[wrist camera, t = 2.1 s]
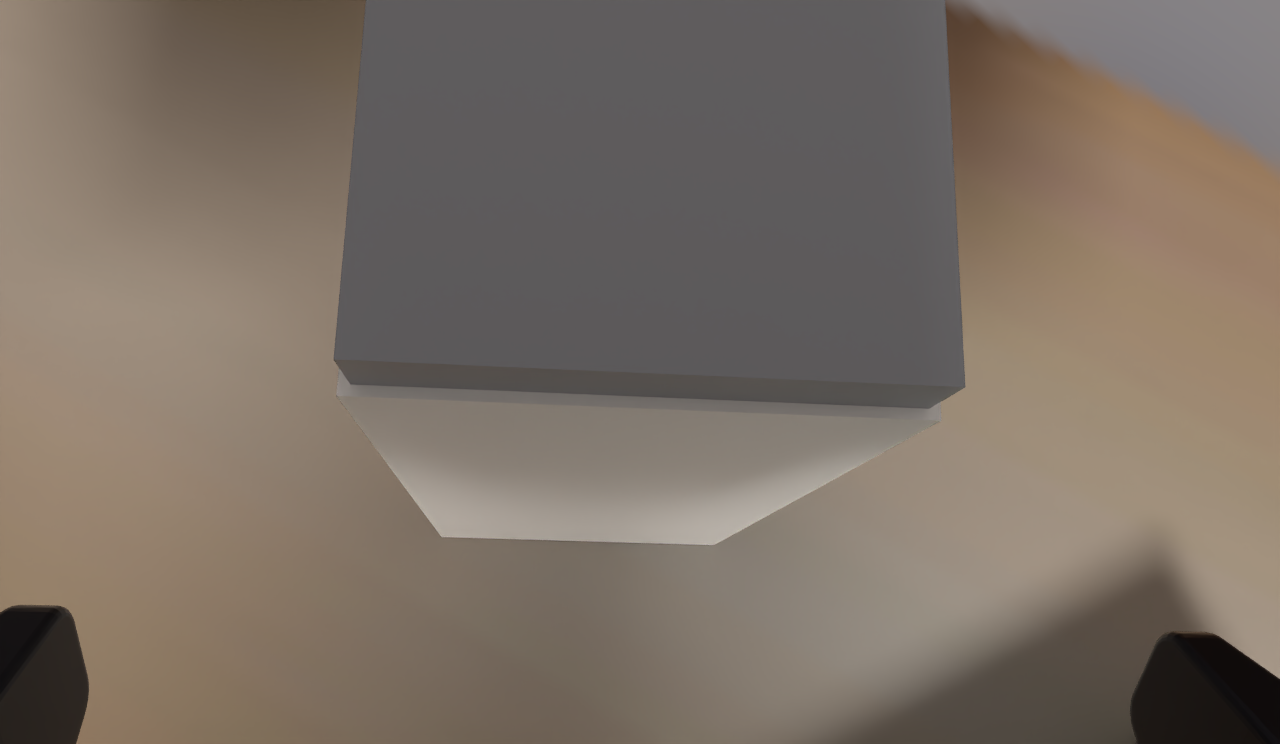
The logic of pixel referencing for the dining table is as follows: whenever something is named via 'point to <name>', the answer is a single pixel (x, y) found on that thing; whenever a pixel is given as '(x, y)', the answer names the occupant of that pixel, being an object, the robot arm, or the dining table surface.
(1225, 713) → the robot arm
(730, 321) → the white rectangular box
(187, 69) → the dining table surface
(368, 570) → the dining table surface
